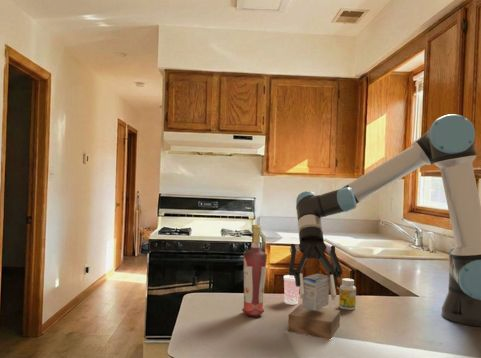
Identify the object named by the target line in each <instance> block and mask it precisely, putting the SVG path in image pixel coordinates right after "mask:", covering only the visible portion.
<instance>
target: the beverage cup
mask: <svg viewBox="0 0 481 358" xmlns="http://www.w3.org/2000/svg"><path fill="white" fill-rule="evenodd" d="M283 288H284V289H283V290H284V293H283V294H284V303H285V304H287V305H294V306H295V305H299V297H300V289H299V287H296V284H295V278H294V276H293V275H291V276H290V275H289V274H285V275H283Z"/></svg>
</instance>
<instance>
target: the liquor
mask: <svg viewBox="0 0 481 358" xmlns="http://www.w3.org/2000/svg"><path fill="white" fill-rule="evenodd" d="M251 227H252V228H251V232H252V237H251V246H250V249H248V250H247V251H245V252H244V253H243V308H241V310H242V312H243V313H244V314H245V315H246V316H247V317H252V318H259V317H260V316H261V315H262V314H263V313H264V312H265V310H264V294H265V283H266V282H265V281H266V271H267V260H268V259H267V257H268V254H266V252H265V251H264V250H261V237H260V234H261V225H260V224H252V225H251Z"/></svg>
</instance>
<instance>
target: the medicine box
mask: <svg viewBox="0 0 481 358" xmlns="http://www.w3.org/2000/svg"><path fill="white" fill-rule="evenodd" d="M329 278H330V275H325V274H322V273H314V274H311V275H307V276H304V277H303V286H304V297H303V299H302V303H301V304H302V307H303V308H307V309H310V310H317V309H319V308H325V307H326V306H327V305H329V297H330V296H329V295H330V284H329Z"/></svg>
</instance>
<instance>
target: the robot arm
mask: <svg viewBox="0 0 481 358" xmlns="http://www.w3.org/2000/svg"><path fill="white" fill-rule="evenodd" d="M475 139H476V130H475V125H474V124H473V123H472V122H471V120H469V119H468V118H467V117H465V116H463V115H461V114H446V115H443V116H440V117H438V118H437V119H436V120H434V122H433V123H432V124H431V125H430V127H429V129H428V130H427V131H426V132H425V133H424V134H423V135H422V136H420V137H419V138H417V139H416V140H413V142H412V146H411V145H410V146H409V147H408V148H406V149H404V150H403V151H401V152H399V153H398V154H396V155H395V156H393V157H391V158H390V159H388V160H386V161H385V162H383V163H381V164H379V165H378V166H376V167H375V168H373V169H371V170H370V171H368V172H366V173H365V174H363V175H361V176H360V177H358V178H356V179H355V180H353V181H350V182H349V183H348V184H345V185H344V186H343V187H341V188H338V189H334V190H331V191H329V192H325V193H322V194H316V193H315V192H314V191H308V190H307V191H303V192H300V193H299V194H298V195H297V197H296V202H295V203H296V206H295V209H296V216H297V227H298V237H299V238H298V239H299V244H297V245H295V243H291V245H290V248H289V250H290V251H289V252H290V262H289V269H288V274H287V275H290V276H291V275H293V276H294V278H295V284H296V287H299V298H300V299H302V300H303V297H304V286H303V278H304V277H303V272H302V270H303V268H304V265H305V263H306V261H307V260H308V259H309V260H310V259H317V260H318V261H319V263H321V264H322V266H323V267H324V269H325V271H326V272H327V274H328V276H329V292H330V296H331V301H335V299H336V296H337V291H336V289H337V287H338V285H339V282H338V278H339V279H340V278H341V277H342V274H343V273H344V272H343V269H342V267H341V264H340V262H339V259H338V257H337V254H336V246H335V245H331V246H327V245H326V244H325V240H324V235H323V234H324V233H323V227H322V218H327V217H328V216H332V215H333V216H334V215H337V214H341V213H345V212H349V211H352V210H354V209H356V208H357V204H359V203H361V202H363V201H364V200H366V199H367V198H369V197H371V196H373V195H374V194H376V193H378V192H379V191H382V190H383V189H384V188H387V187H389V186H391V185H392V184H393V183H396V182H397V181H399V180H400V179H403V178H404V177H406V176H408V175H409V174H411V173H412V172H414V171H417V170H418V169H420V168H421V167H423V166H425V165H426V166H431V165H434V166H436V167H437V168H439V169H440V173H441V174H440V175H441V179H442V184H443V189H444V190H443V191H444V193H445V199H446V204H447V208H448V209H447V210H448V215H449V218H450V219H449V221H450V225H451V229H452V234H453V240H454V245H455V246H452V247H451V248H450V249H449V254H448V258H449V261H448V262H449V264H448V265H449V268H448V291H447V295H446V297H445V299H444V302H443V304H442V307H441V315H442V317H443V318H445V319H446V320H449V321H452V322H453V323H454V322H455V323H458V324H462V325H466V326H468V325H469V326H474V327H481V200H480V195H479V190H478V187H477V182H476V177H475V171H474V166H473V162H474V161H475V160H476V158H477V153H476V147H475V143H474V142H475ZM298 251H299V252H301V253H302V256H301V259H300V260H299V263H298V264H297V267H296V269H295V268H294V267H295V262H296V256H297V255H296V254H297V253H298ZM325 252H327V254H328V255H329V259H330V260H329V259H328V257H327V256H326V253H325ZM330 261H331V262H330ZM301 272H302V273H301Z"/></svg>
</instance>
